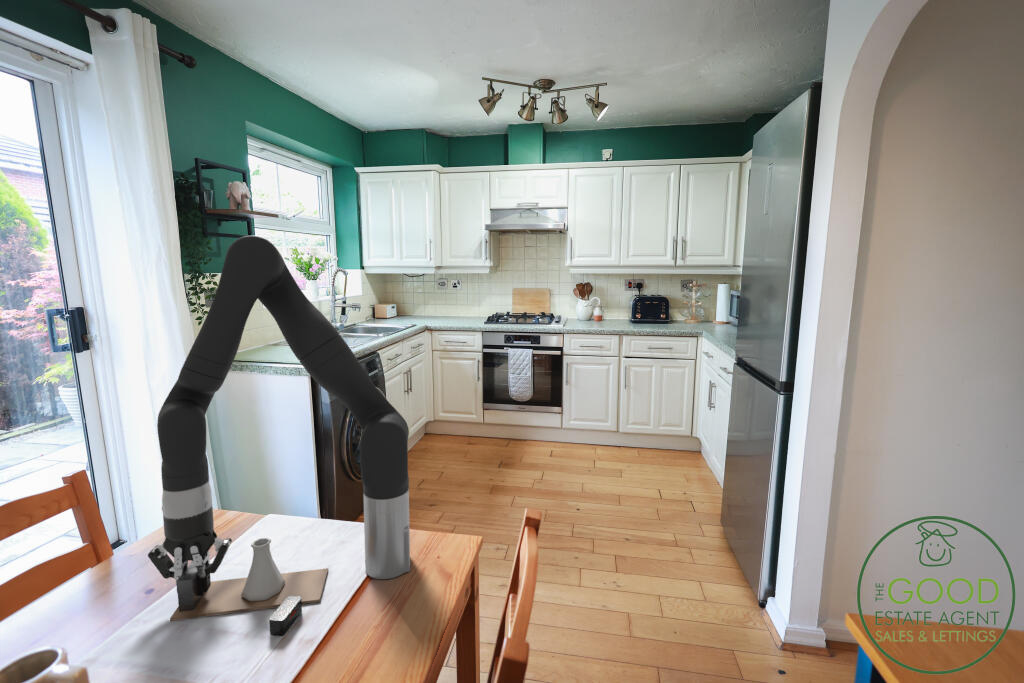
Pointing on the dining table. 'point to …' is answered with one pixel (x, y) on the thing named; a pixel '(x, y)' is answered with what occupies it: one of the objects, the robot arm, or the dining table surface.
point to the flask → (262, 573)
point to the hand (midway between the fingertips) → (194, 593)
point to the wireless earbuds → (285, 616)
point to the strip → (228, 593)
